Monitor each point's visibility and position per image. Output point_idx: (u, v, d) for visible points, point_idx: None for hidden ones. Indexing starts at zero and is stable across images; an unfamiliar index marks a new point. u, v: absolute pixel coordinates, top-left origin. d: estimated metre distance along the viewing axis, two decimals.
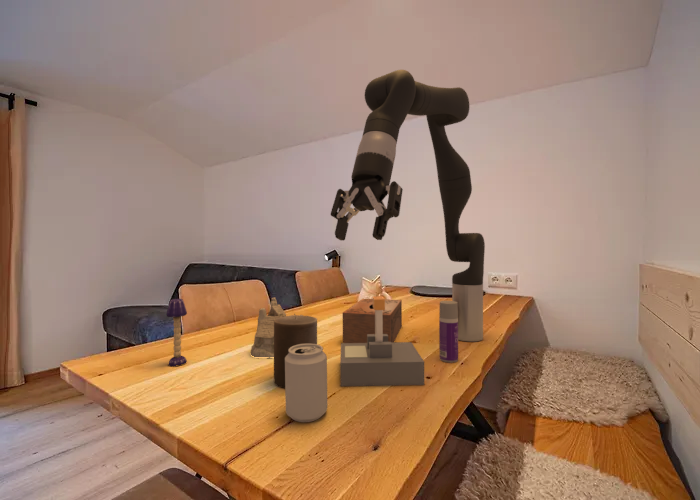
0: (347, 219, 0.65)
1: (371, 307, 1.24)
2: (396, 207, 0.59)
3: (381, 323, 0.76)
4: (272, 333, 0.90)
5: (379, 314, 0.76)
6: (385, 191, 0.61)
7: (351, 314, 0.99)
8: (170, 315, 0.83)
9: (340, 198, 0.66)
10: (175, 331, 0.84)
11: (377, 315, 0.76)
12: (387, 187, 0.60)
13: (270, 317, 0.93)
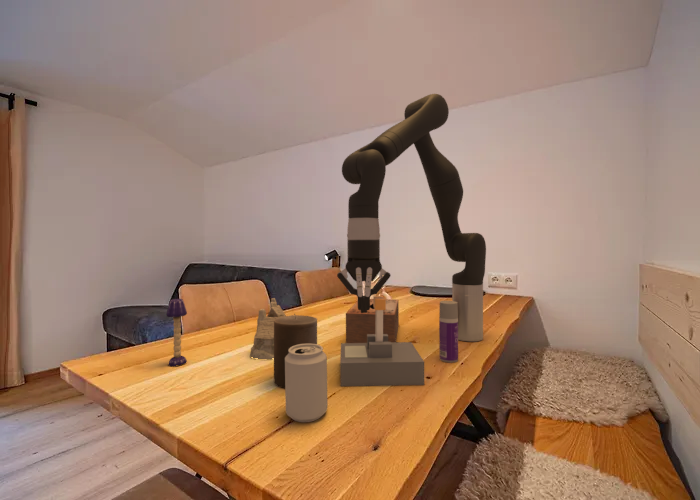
0: None
1: None
2: None
3: (381, 323, 0.76)
4: (272, 334, 0.89)
5: (380, 314, 0.76)
6: None
7: (355, 314, 0.98)
8: (170, 315, 0.83)
9: (345, 278, 0.77)
10: (175, 331, 0.84)
11: (378, 315, 0.76)
12: (382, 270, 0.77)
13: (270, 318, 0.92)
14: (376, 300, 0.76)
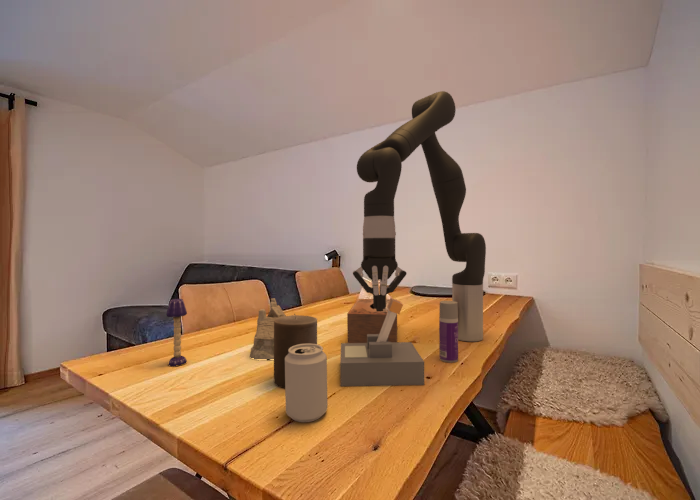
0: None
1: None
2: None
3: (391, 325, 0.76)
4: (272, 334, 0.89)
5: (392, 316, 0.76)
6: None
7: (356, 315, 0.98)
8: (170, 315, 0.83)
9: (361, 277, 0.77)
10: (175, 331, 0.84)
11: (390, 316, 0.76)
12: (398, 268, 0.77)
13: (270, 318, 0.92)
14: (394, 302, 0.76)
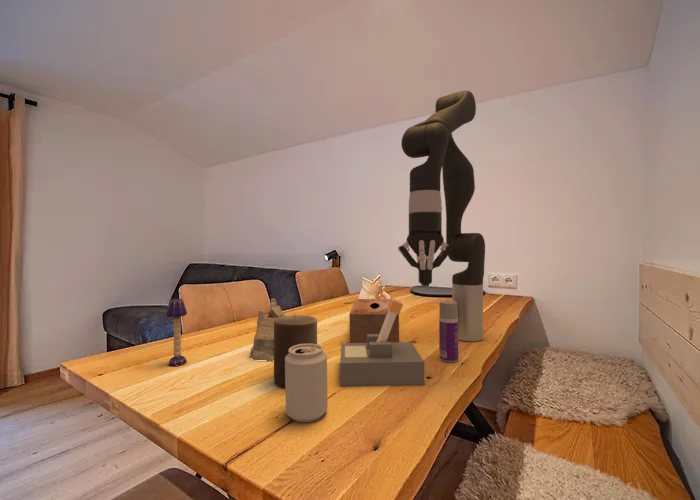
0: None
1: None
2: None
3: (391, 325, 0.76)
4: (272, 335, 0.88)
5: (392, 316, 0.76)
6: None
7: (358, 315, 0.98)
8: (170, 315, 0.83)
9: (407, 251, 0.77)
10: (175, 331, 0.84)
11: (390, 316, 0.76)
12: (443, 243, 0.77)
13: (270, 319, 0.91)
14: (394, 302, 0.76)
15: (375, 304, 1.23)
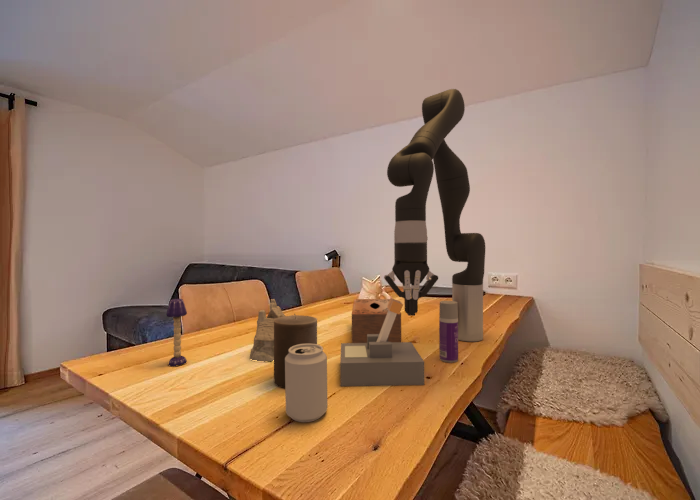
0: None
1: None
2: None
3: (391, 325, 0.76)
4: (272, 336, 0.88)
5: (392, 316, 0.76)
6: None
7: (361, 315, 0.97)
8: (170, 315, 0.83)
9: (393, 281, 0.77)
10: (175, 331, 0.84)
11: (390, 316, 0.76)
12: (429, 273, 0.77)
13: (270, 319, 0.91)
14: (394, 302, 0.76)
15: (373, 304, 1.23)
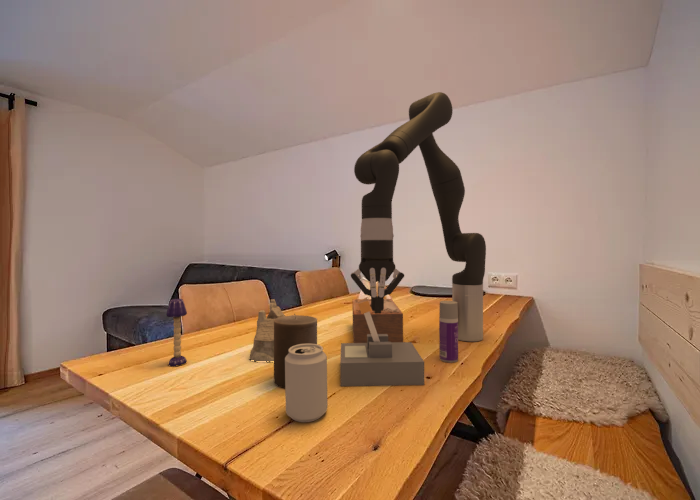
0: None
1: None
2: None
3: (372, 324, 0.76)
4: (272, 336, 0.87)
5: (368, 316, 0.76)
6: None
7: (363, 315, 0.97)
8: (170, 315, 0.83)
9: (359, 279, 0.77)
10: (175, 331, 0.84)
11: (366, 318, 0.76)
12: (395, 270, 0.77)
13: (270, 319, 0.90)
14: (359, 304, 0.76)
15: None
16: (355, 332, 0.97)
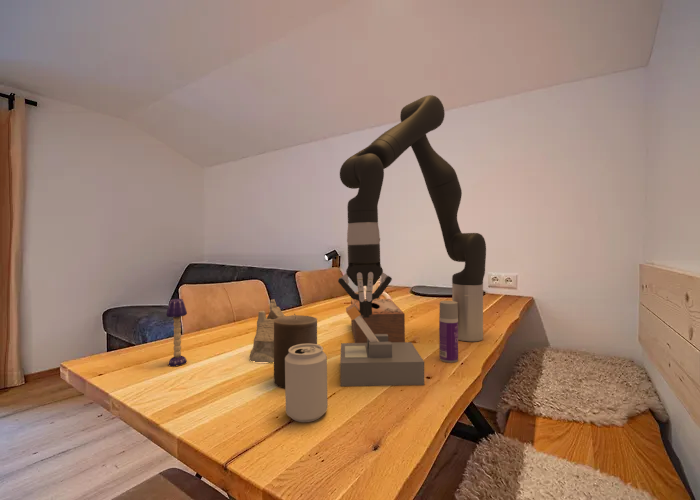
0: None
1: None
2: None
3: (366, 327, 0.76)
4: (272, 337, 0.87)
5: (359, 321, 0.76)
6: None
7: None
8: (170, 315, 0.83)
9: (346, 284, 0.77)
10: (175, 331, 0.84)
11: (358, 323, 0.76)
12: (383, 274, 0.77)
13: (270, 320, 0.90)
14: (347, 312, 0.76)
15: None
16: (357, 332, 0.97)
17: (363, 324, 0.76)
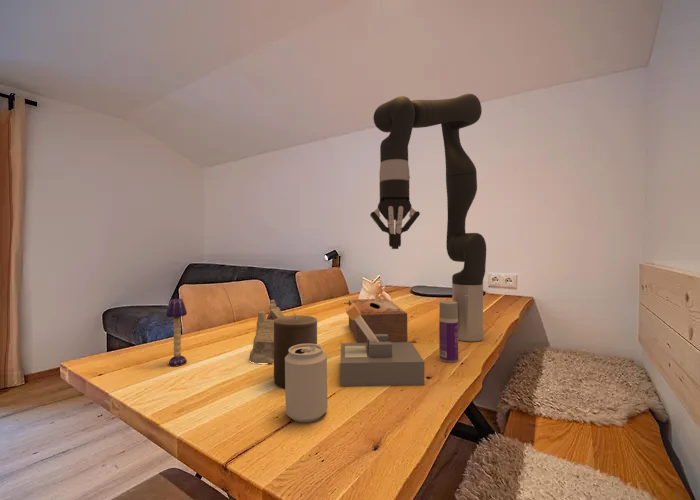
0: None
1: None
2: None
3: (365, 327, 0.76)
4: (272, 337, 0.86)
5: (359, 321, 0.76)
6: None
7: (368, 315, 0.97)
8: (170, 315, 0.83)
9: (378, 217, 0.83)
10: (175, 331, 0.84)
11: (358, 323, 0.76)
12: (411, 209, 0.84)
13: (270, 321, 0.89)
14: (347, 312, 0.76)
15: None
16: (360, 333, 0.97)
17: (363, 324, 0.76)
